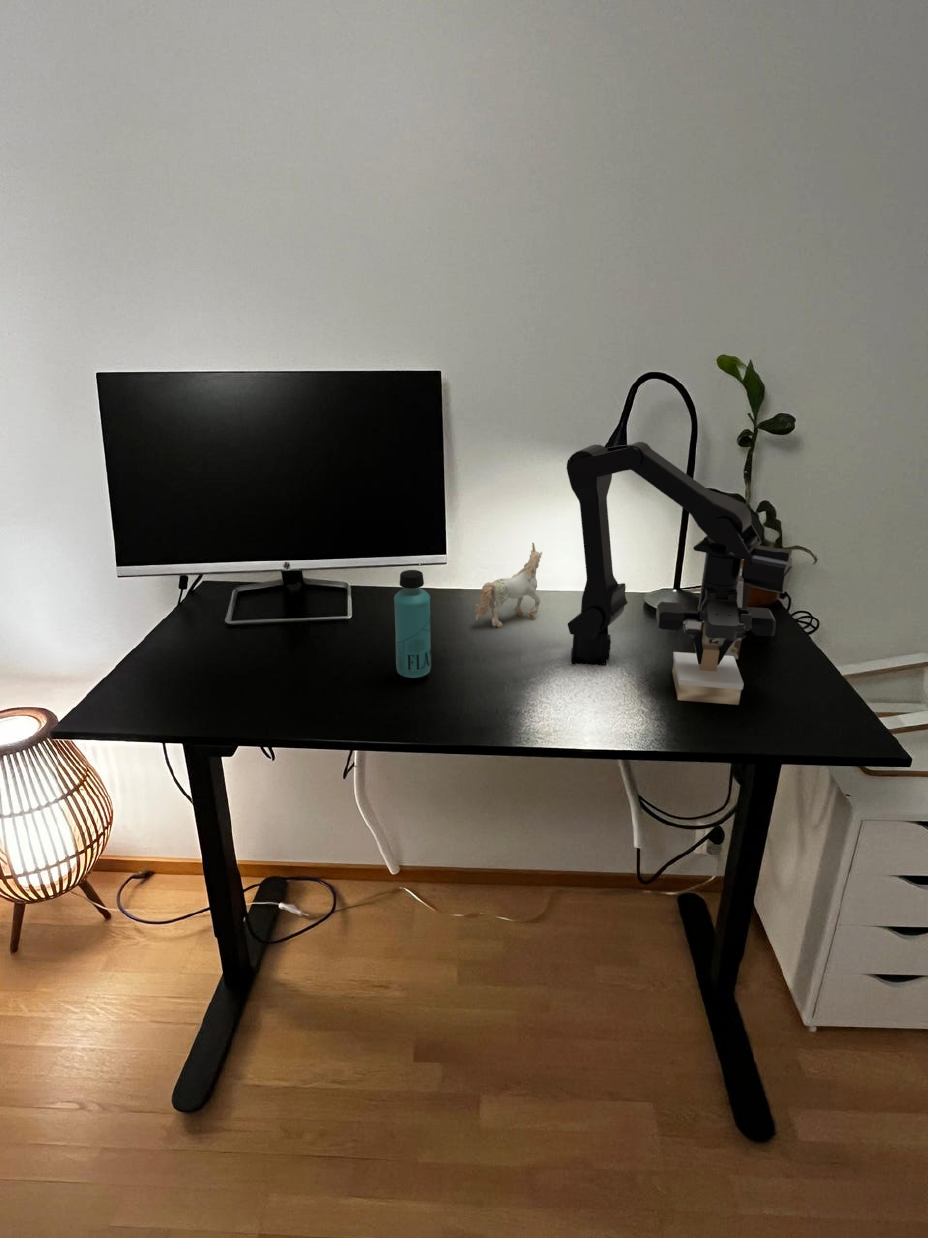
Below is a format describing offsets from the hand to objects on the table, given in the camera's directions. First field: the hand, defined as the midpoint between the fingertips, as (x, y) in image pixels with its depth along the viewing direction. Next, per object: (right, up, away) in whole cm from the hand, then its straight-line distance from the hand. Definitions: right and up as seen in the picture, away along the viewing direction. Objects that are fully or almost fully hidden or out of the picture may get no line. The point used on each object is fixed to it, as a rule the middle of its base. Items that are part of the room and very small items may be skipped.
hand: (707, 663), depth 139 cm
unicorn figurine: (-33, +9, +31) cm, 46 cm away
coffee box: (+7, +2, +17) cm, 18 cm away
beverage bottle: (-51, -3, +6) cm, 51 cm away
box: (0, -5, +2) cm, 5 cm away
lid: (0, -2, +1) cm, 2 cm away
